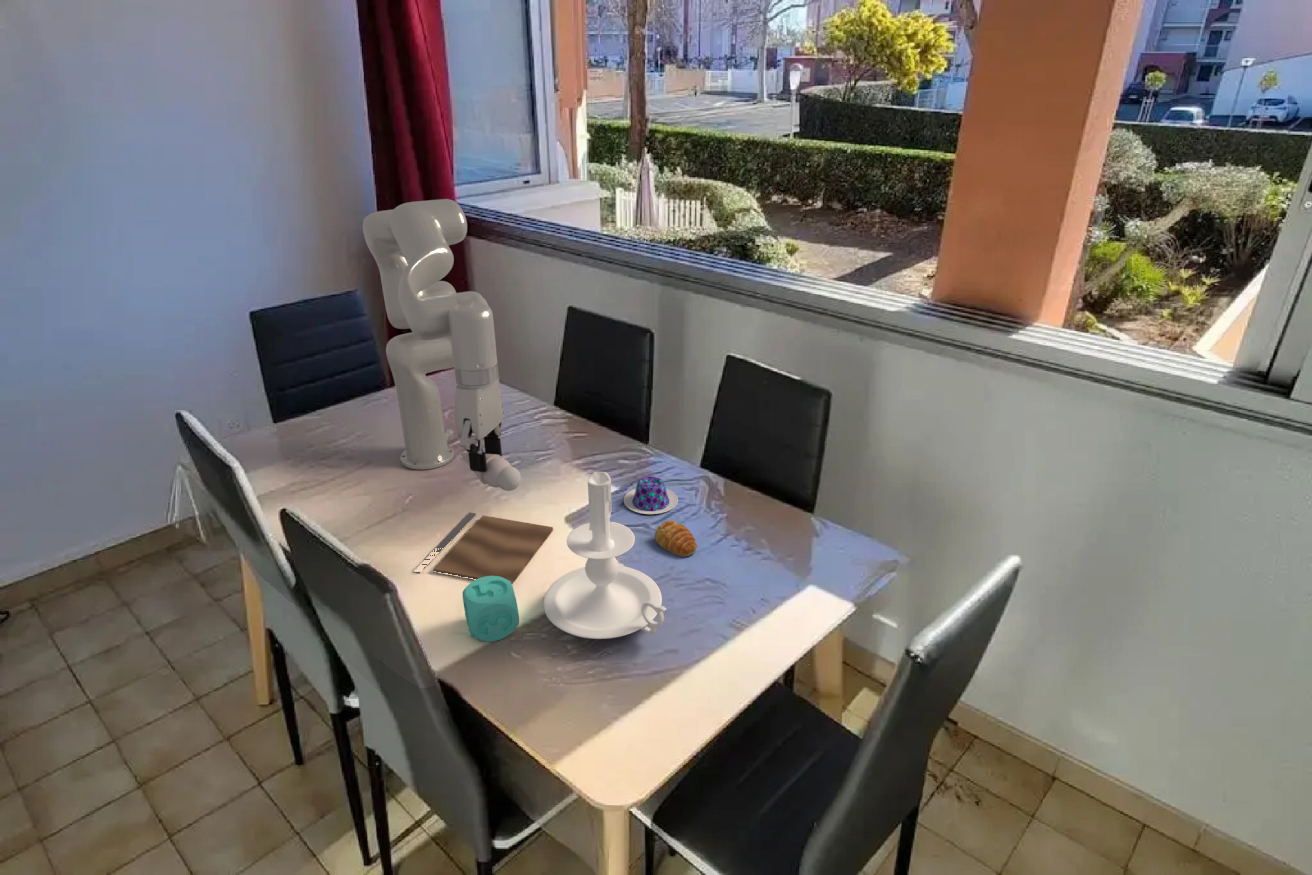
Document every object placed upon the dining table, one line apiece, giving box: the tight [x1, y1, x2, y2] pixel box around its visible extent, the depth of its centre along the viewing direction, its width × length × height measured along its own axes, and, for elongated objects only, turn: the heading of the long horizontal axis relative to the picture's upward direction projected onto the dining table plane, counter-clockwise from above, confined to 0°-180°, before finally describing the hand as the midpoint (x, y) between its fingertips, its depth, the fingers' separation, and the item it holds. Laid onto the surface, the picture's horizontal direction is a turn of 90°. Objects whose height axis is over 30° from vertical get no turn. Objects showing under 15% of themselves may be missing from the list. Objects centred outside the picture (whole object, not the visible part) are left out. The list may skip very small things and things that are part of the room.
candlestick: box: [543, 471, 667, 640], centre depth 131 cm, size 21×25×28 cm
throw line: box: [422, 512, 477, 565], centre depth 159 cm, size 22×2×1 cm, turn 164°
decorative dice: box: [462, 576, 520, 643], centre depth 134 cm, size 8×8×8 cm
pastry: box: [653, 520, 698, 558], centre depth 157 cm, size 9×7×4 cm
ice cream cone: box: [458, 451, 522, 492], centre depth 148 cm, size 6×6×15 cm
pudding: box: [623, 475, 679, 515], centre depth 172 cm, size 12×12×5 cm
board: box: [432, 514, 554, 585], centre depth 156 cm, size 20×16×1 cm
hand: (486, 462), depth 147 cm, fingers closed on ice cream cone, 5 cm apart
